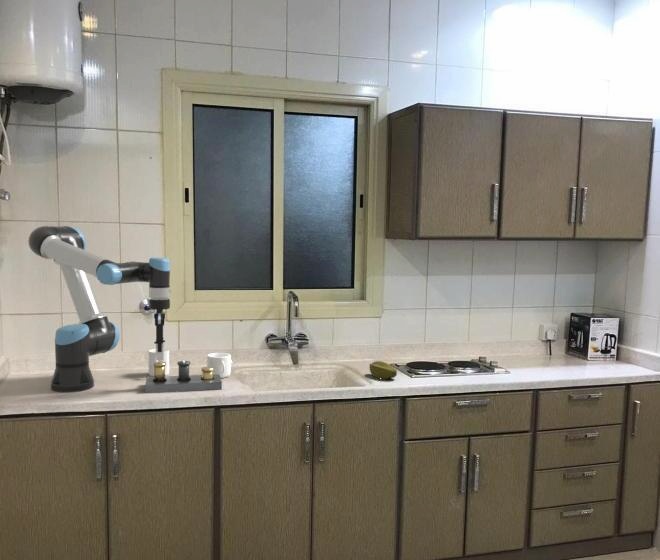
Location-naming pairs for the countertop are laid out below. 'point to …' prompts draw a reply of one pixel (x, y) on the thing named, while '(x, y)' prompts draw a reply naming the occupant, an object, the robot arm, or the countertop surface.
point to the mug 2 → (220, 363)
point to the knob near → (159, 371)
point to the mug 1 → (153, 359)
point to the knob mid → (183, 370)
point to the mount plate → (183, 384)
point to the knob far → (207, 373)
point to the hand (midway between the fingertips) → (159, 359)
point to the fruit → (382, 370)
